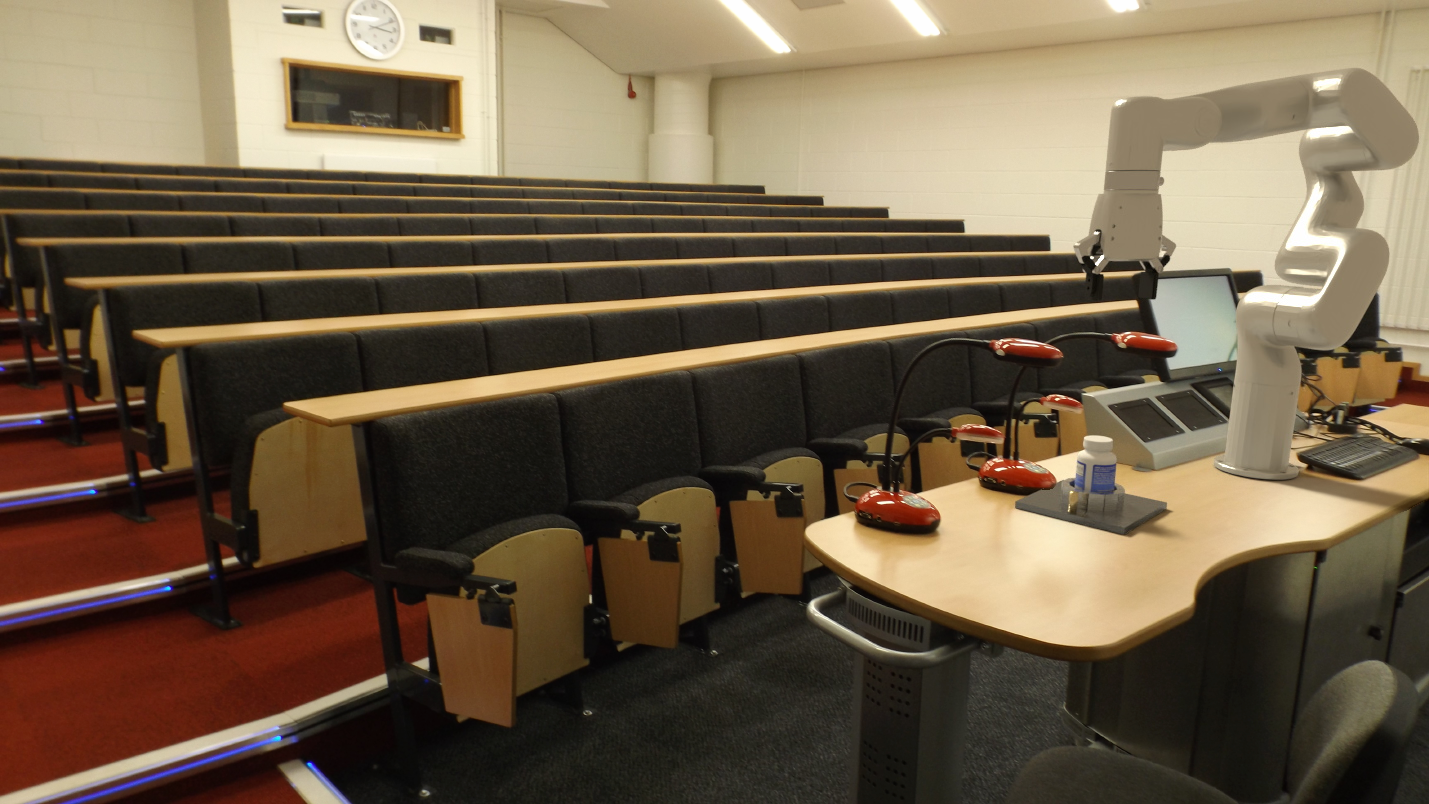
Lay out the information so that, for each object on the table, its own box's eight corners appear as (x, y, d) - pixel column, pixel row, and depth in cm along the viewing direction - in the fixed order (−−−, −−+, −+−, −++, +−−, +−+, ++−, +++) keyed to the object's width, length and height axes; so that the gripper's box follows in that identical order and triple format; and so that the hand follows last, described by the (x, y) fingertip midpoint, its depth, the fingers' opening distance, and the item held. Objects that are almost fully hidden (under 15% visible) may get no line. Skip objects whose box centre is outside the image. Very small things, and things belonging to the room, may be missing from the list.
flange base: (1062, 485, 147) (1064, 461, 147) (1166, 508, 136) (1169, 483, 136) (1014, 507, 136) (1017, 482, 136) (1123, 534, 125) (1126, 507, 124)
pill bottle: (1118, 501, 136) (1124, 438, 134) (1105, 509, 132) (1111, 444, 130) (1081, 493, 140) (1087, 432, 138) (1067, 502, 136) (1073, 438, 134)
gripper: (1162, 185, 142) (1150, 296, 145) (1065, 184, 137) (1055, 298, 141) (1198, 184, 135) (1185, 300, 138) (1098, 183, 130) (1087, 303, 134)
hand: (1120, 299), depth 140 cm, fingers open, 9 cm apart
